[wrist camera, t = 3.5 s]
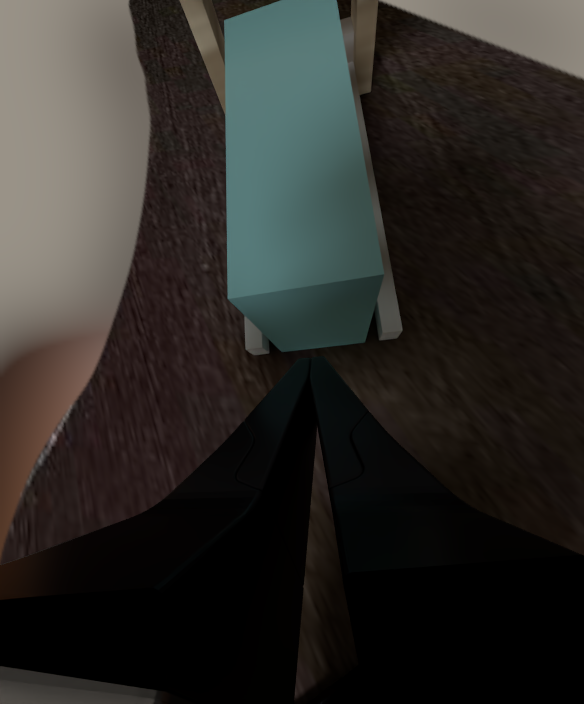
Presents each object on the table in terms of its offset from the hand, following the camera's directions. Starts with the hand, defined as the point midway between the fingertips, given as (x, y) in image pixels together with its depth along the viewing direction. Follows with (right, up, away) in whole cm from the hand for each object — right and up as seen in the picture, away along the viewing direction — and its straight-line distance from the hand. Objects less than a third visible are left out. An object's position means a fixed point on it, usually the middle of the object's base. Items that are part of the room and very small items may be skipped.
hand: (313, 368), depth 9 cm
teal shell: (+1, +8, +9) cm, 12 cm away
